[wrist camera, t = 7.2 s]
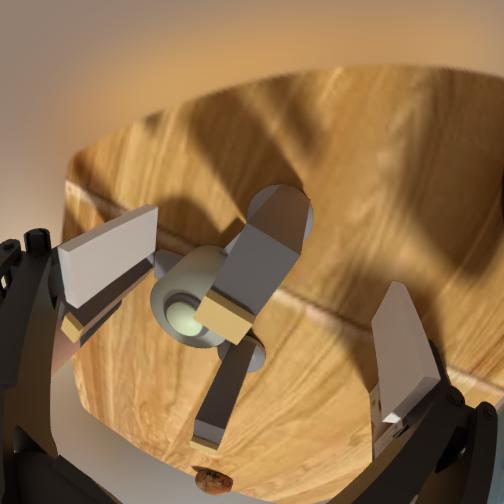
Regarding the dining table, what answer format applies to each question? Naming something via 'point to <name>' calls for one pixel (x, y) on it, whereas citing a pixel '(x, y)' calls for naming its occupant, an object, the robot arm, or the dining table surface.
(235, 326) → the dark grey upright block
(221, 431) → the grey block tan end
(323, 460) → the dining table surface
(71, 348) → the travel mug
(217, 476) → the bread roll
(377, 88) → the dining table surface
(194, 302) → the tribrach hub
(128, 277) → the grey post tan tip
